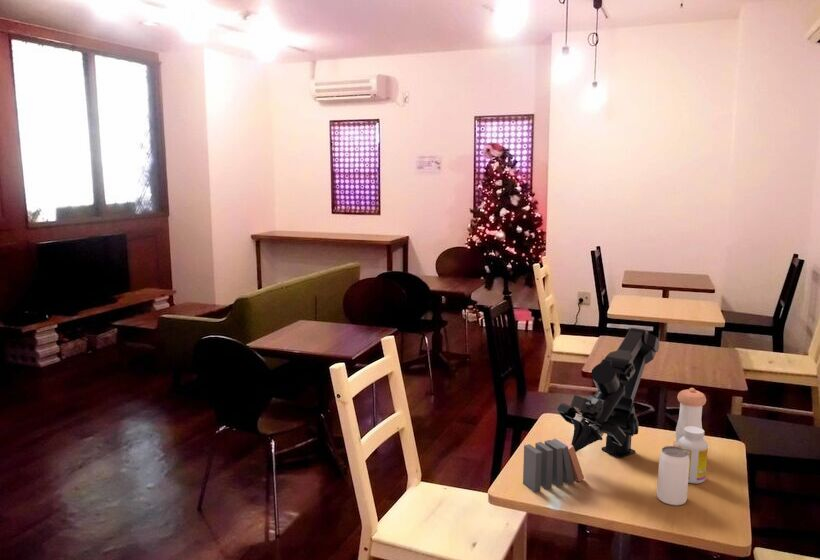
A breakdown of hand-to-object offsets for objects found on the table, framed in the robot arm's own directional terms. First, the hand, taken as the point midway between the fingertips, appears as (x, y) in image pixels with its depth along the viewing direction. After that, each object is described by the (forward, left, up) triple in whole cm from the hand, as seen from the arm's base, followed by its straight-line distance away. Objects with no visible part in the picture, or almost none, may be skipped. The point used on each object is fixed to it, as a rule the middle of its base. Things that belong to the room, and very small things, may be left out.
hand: (572, 451), depth 160 cm
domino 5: (-2, 0, -7) cm, 7 cm away
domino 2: (+8, -2, -7) cm, 11 cm away
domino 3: (+5, -1, -7) cm, 9 cm away
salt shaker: (-35, +8, -7) cm, 37 cm away
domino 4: (+2, -1, -7) cm, 7 cm away
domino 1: (+11, -2, -7) cm, 14 cm away
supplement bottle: (-25, +16, -7) cm, 31 cm away
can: (-12, +20, -7) cm, 25 cm away
